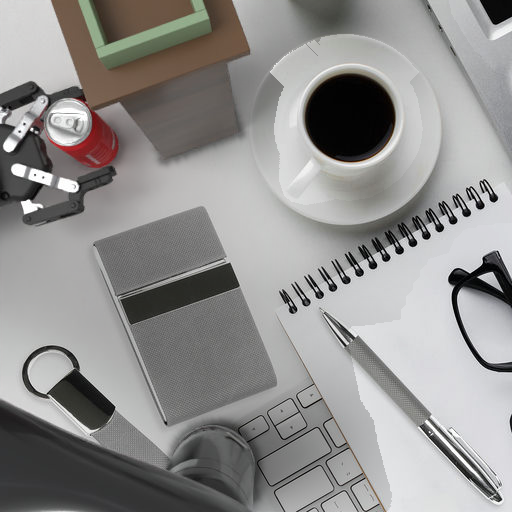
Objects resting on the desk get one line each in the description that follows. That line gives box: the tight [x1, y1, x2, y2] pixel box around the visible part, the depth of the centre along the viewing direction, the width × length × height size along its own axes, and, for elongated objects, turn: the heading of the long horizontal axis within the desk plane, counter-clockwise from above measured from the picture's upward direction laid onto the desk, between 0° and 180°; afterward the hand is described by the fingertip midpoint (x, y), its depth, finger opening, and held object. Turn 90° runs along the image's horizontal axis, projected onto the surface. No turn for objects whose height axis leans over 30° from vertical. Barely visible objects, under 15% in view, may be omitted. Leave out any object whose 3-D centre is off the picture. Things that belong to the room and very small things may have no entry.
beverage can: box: [44, 98, 120, 169], centre depth 71 cm, size 5×5×12 cm
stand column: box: [118, 63, 239, 160], centre depth 63 cm, size 9×9×29 cm
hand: (101, 131), depth 70 cm, fingers open, 8 cm apart
